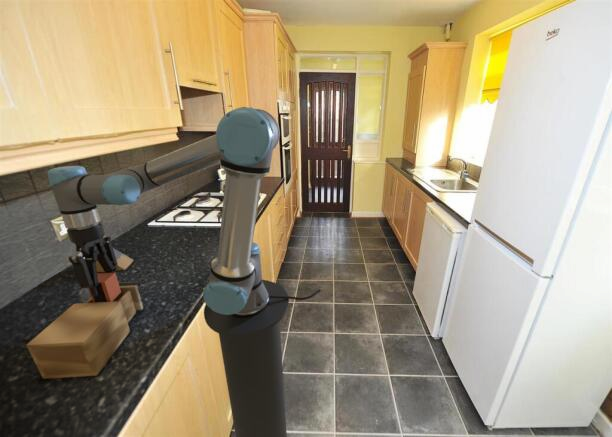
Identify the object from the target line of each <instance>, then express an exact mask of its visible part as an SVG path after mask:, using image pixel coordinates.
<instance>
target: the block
mask: <svg viewBox="0 0 612 437" xmlns="http://www.w3.org/2000/svg"><path fill="white" fill-rule="evenodd" d="M97 277H98V283H101V285H102V288H103V291H104V294H105V297H106V300H107V302H112V301H113V300H114V299H115V298H116V297H117V296H118V295H119V294H120V293H121V290H120V287H119V283H120V282H119V281H118V277H117V273H116V272H114V273H104V272H97ZM87 290H88V292H89V294H90V298H92V301H93V303H95V300H94V297H93V296H92V295H91V292H90V290H89V288H87Z"/></svg>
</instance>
